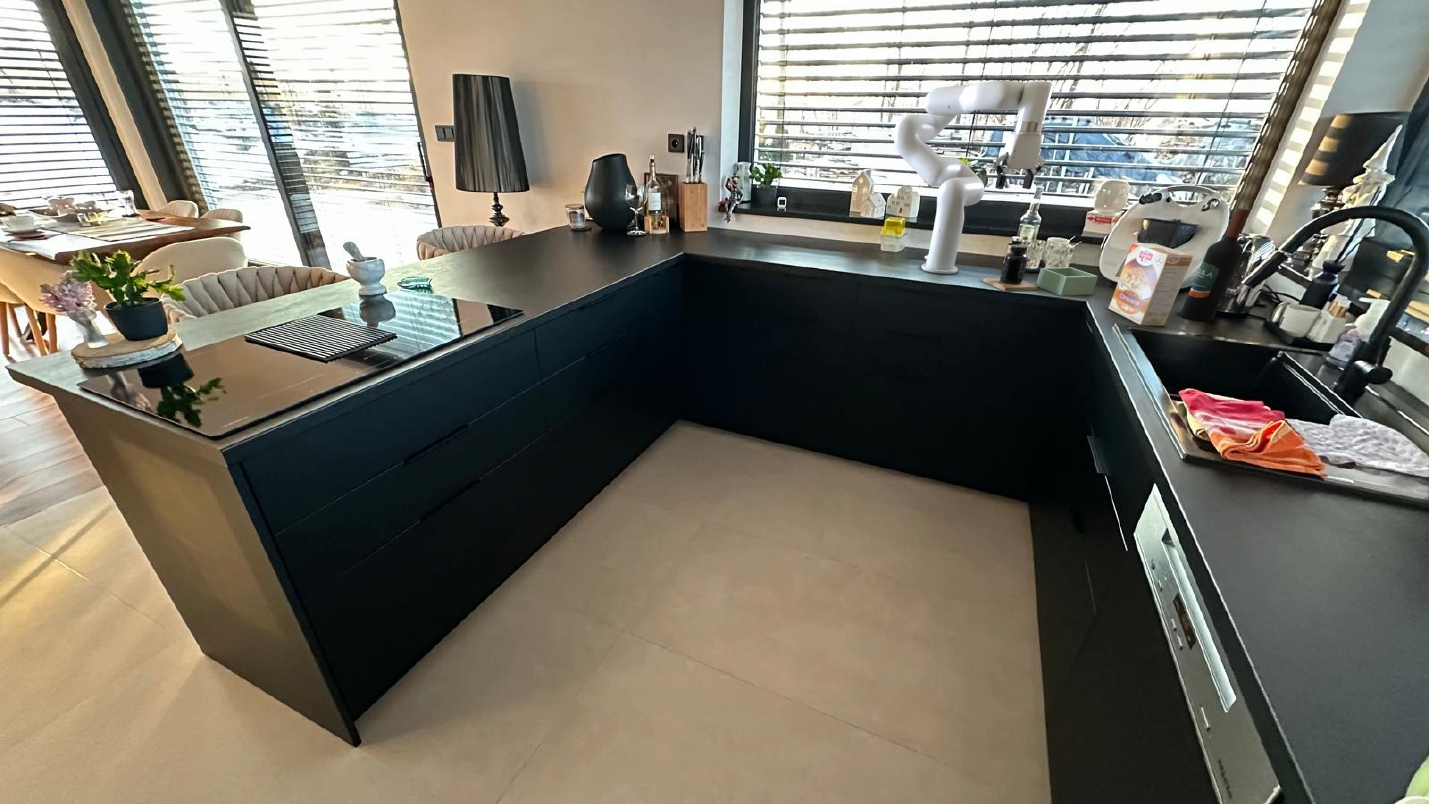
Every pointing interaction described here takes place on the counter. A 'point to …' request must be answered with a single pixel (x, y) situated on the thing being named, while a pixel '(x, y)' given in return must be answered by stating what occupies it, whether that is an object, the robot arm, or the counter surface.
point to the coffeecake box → (1149, 283)
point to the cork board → (1009, 285)
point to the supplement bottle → (1014, 265)
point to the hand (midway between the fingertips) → (1012, 188)
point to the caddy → (1066, 281)
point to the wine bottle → (1215, 272)
